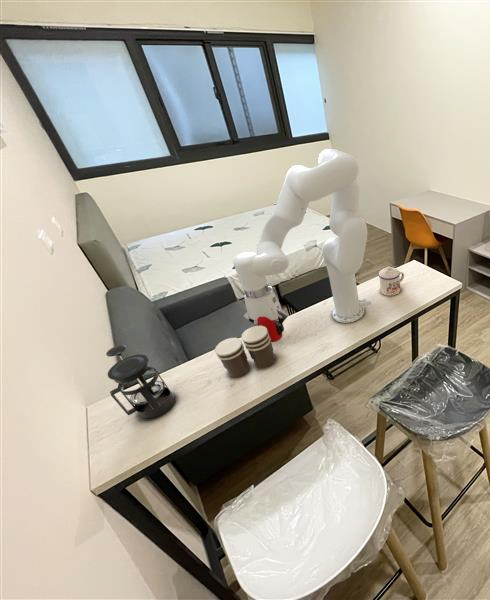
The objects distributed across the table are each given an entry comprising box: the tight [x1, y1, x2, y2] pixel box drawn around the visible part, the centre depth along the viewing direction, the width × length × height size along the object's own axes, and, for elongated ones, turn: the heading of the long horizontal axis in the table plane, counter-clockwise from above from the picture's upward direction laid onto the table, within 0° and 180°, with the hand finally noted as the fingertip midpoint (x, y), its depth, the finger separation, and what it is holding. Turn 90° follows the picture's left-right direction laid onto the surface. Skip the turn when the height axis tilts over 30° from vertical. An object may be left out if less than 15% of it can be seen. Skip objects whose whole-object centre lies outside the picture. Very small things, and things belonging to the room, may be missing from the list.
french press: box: [105, 344, 177, 421], centre depth 88 cm, size 12×9×23 cm
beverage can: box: [257, 317, 283, 344], centre depth 113 cm, size 6×6×12 cm
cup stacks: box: [214, 325, 276, 379], centre depth 104 cm, size 16×8×12 cm, turn 116°
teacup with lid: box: [378, 266, 405, 297], centre depth 138 cm, size 12×9×12 cm
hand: (271, 332), depth 114 cm, fingers closed on beverage can, 6 cm apart
